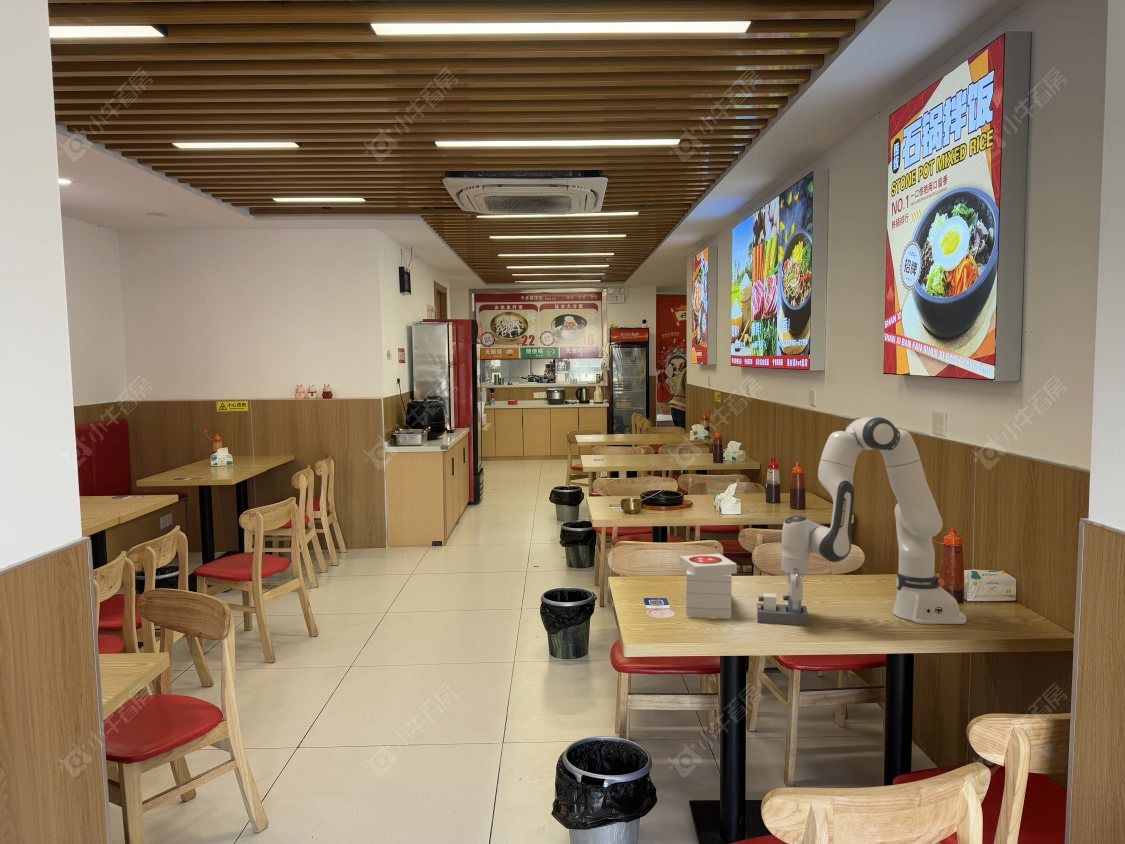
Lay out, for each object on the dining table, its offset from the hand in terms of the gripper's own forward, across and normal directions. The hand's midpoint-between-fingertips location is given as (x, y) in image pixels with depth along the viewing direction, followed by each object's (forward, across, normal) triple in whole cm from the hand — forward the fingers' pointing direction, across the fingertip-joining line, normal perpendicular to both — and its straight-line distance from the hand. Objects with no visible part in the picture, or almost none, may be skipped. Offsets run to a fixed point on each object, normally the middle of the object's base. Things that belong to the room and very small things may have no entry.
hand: (794, 606), depth 256 cm
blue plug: (+4, 0, 0) cm, 4 cm away
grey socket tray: (+5, 0, +4) cm, 6 cm away
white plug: (+5, 0, +8) cm, 9 cm away
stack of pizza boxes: (+5, +9, +29) cm, 31 cm away
